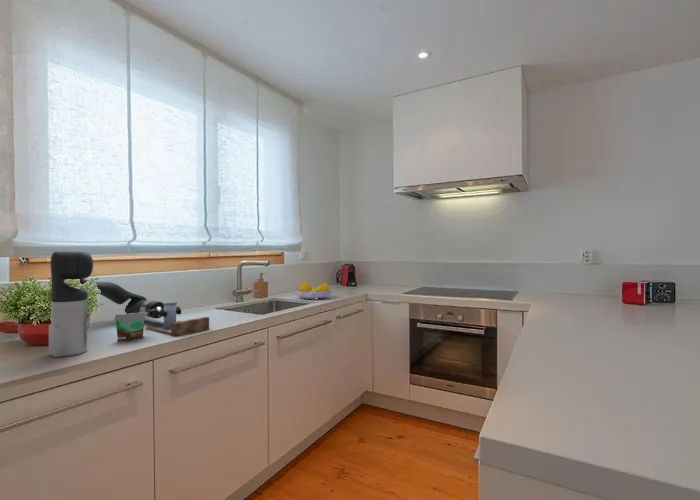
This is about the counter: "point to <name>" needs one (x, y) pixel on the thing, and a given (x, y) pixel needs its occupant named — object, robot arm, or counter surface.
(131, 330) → the food container
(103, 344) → the counter surface
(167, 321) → the block
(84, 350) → the robot arm
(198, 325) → the channel
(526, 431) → the counter surface
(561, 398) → the counter surface
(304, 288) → the fruit bowl
